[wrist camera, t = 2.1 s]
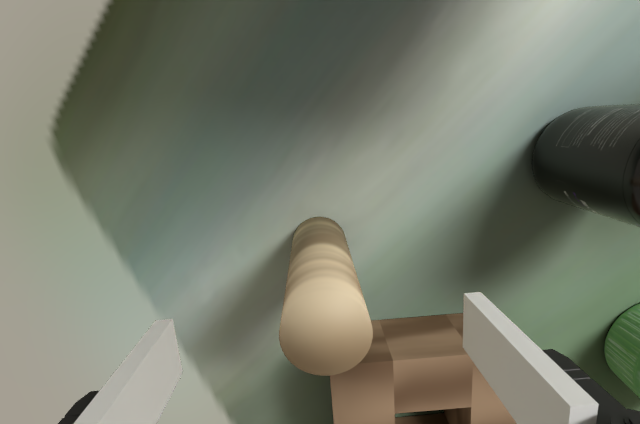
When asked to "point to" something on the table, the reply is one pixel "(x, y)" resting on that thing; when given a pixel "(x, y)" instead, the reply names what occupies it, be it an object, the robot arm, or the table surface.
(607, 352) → the ramekin
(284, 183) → the table surface
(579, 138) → the supplement bottle
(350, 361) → the peg
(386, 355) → the socket block
